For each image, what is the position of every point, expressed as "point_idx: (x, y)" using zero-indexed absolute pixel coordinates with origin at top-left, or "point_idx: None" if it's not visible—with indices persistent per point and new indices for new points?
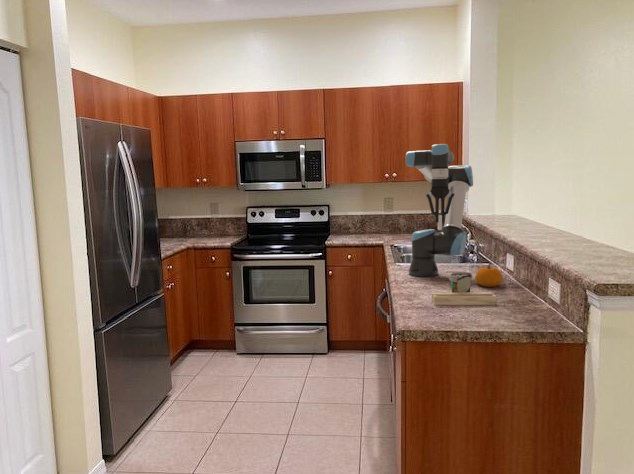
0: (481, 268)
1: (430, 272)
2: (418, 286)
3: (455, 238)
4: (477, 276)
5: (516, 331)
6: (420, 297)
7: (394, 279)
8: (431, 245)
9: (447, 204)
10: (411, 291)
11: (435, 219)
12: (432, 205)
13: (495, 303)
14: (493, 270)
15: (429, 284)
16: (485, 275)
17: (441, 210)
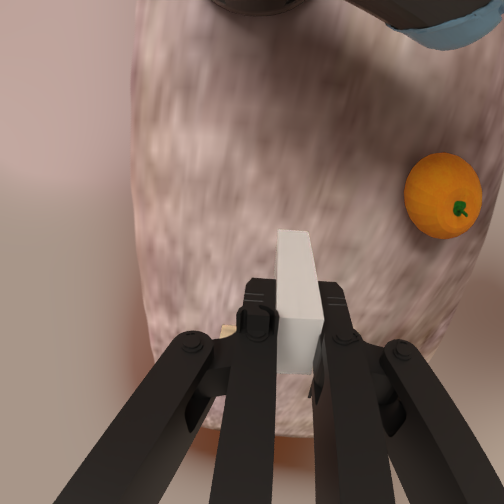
0: (437, 205)
1: (277, 9)
2: (204, 168)
3: (444, 22)
4: (409, 204)
5: (309, 436)
6: (198, 293)
7: (133, 58)
8: None
9: (415, 484)
10: (177, 232)
11: (243, 302)
12: (162, 481)
13: None
14: (457, 234)
15: (247, 141)
16: (425, 231)
17: (318, 412)
